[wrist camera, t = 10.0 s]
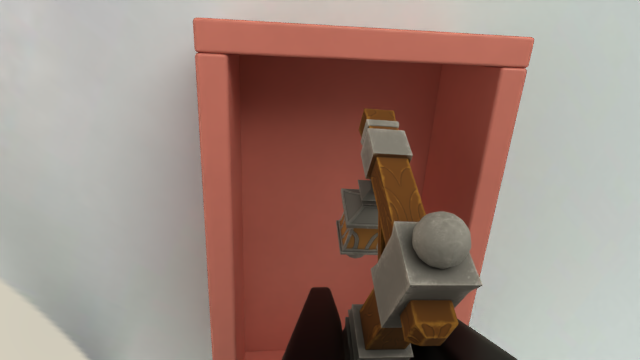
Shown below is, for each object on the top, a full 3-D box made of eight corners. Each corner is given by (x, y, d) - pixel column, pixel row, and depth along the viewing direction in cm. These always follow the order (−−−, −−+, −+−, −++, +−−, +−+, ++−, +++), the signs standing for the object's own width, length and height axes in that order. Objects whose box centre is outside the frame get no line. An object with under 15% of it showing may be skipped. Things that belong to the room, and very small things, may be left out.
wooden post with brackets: (436, 72, 7) (556, 285, 4) (353, 291, 13) (377, 456, 10) (342, 63, 7) (392, 283, 4) (298, 291, 13) (304, 460, 9)
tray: (407, 345, 15) (445, 432, 12) (229, 354, 14) (217, 450, 11) (458, 35, 11) (535, 37, 8) (217, 21, 10) (192, 17, 7)
